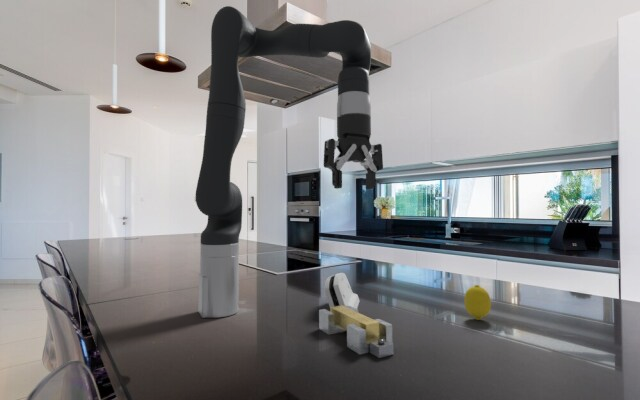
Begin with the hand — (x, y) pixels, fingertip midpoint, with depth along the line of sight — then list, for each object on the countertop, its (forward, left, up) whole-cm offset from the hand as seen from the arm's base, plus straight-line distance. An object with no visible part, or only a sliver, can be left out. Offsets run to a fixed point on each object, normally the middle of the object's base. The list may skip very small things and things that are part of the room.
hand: (354, 188), depth 75 cm
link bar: (-4, -5, -29) cm, 29 cm away
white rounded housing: (+5, +13, -30) cm, 34 cm away
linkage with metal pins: (-4, -5, -30) cm, 31 cm away
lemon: (+27, -10, -30) cm, 42 cm away
